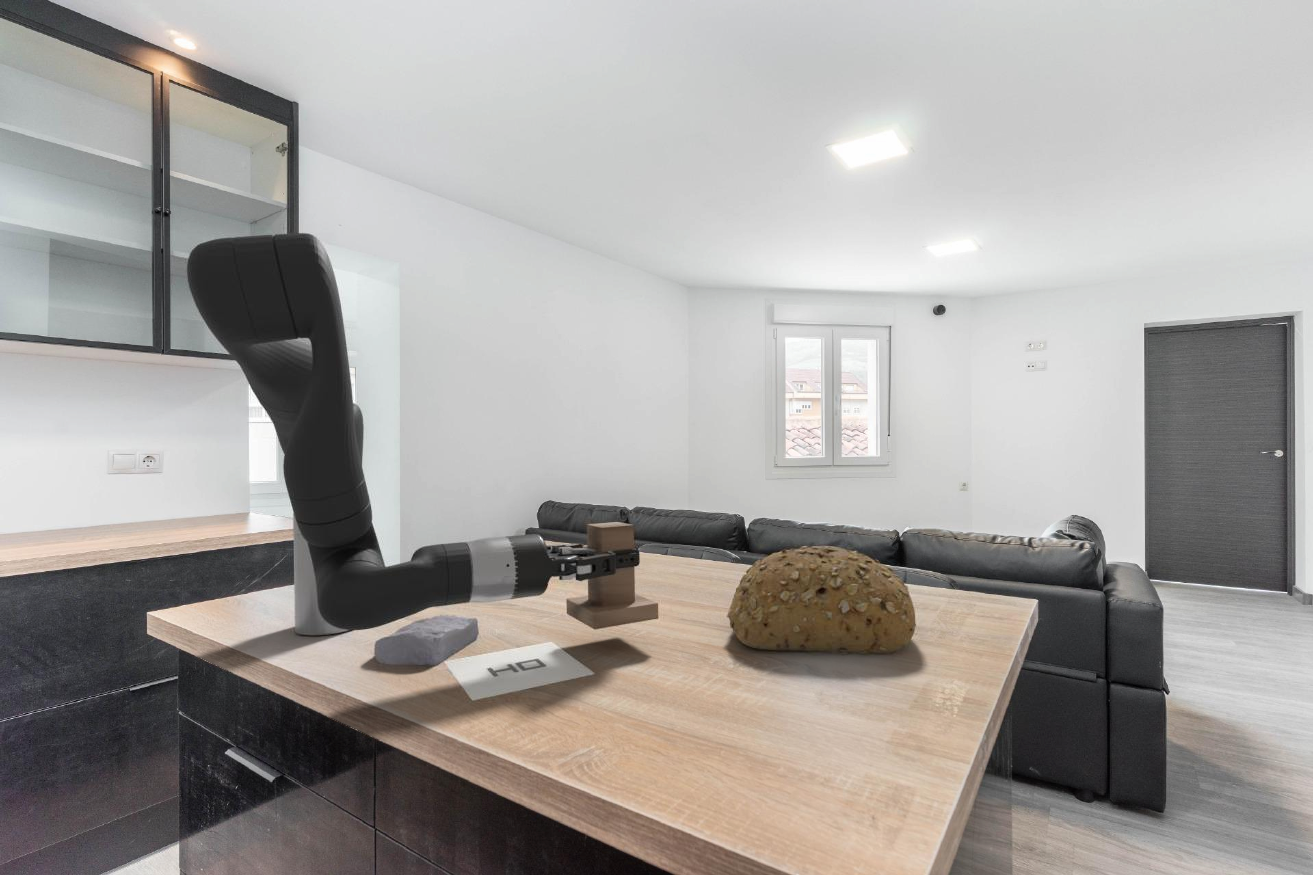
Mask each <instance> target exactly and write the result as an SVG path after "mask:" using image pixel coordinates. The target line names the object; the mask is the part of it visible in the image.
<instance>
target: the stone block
mask: <svg viewBox="0 0 1313 875" xmlns="http://www.w3.org/2000/svg"><path fill="white" fill-rule="evenodd" d="M478 621H479V620H478V619H477V617H475V616H474V617H465V616H458V615H455V614H453V615H450V614H446V615H445V614H441V615H436V616H435V615H434V616H432V617H427V618H423V619H419V620H416V621H412V622H410V623H409V624H407V625H404V626H402V627H401V628H399V629H397V630H396V631H395V632H394V633H392V634H390V635H388V636H383V637H380V638H379V639H378V640H376V641H375V642H374V643H375V644H374V649H373V650H374V651H373V652H374V656H375V660H376V662H377V663H378V664H379V663H381V664H386V665H405V666H406V665H414V666H437V665H440V664H441V663H444V661H447V660H448V659H449V658H451V657H453V656H454V655H455V654H457V653H458V652H460V651H461V650H463V649H464V648H466V647H468V646H469V645H471V644H472V643H474V642H475V641H477V639H478V636H479V633H480V632H479V624H478V623H479V622H478Z"/></svg>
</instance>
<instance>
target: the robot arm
mask: <svg viewBox="0 0 1313 875" xmlns="http://www.w3.org/2000/svg"><path fill="white" fill-rule="evenodd" d="M187 259H188V260H187V263H186V276H187V277H186V278H187V283H188V288H189V290H190V294H191V297H192V298H193V301H194V303H195V306H196V308H197V310H198V312H199V314H200V316H201V318H202V320H203V321H204V323H205V324H206V326H207V327H208V329H209V331H210V332H211V334H212V335H213V337H215V339H216V340H217V341H218V342H219V343H220V345H221V346H222V347H223V348H224V349H225V350H226V352H227V353H228V354H229V355H230V356H231V357H232V358H233V360H234V361H235V362H237V364H238V365H239V367H240V368H241V371H242V372H243V374H244V376H245V378H246V380H247V382H248V384H249V386H250V389H251V391H252V392H253V394H254V395H255V397H256V399H257V401H258V402H259V403H260V405H261V407H262V408H263V409H264V410H265V412H266V413H267V415H268V417H269V419H270V421H271V422H272V423H273V427H274V430H275V432H276V435H277V439H278V443H279V445H280V447H281V450H282V452H283V456H284V457H283V466H282V467H283V479H284V482H285V487H286V491H287V494H288V498H289V500H290V504H291V507H292V511H293V512H292V521H293V522H292V523H293V525H292V529H293V530H292V532H293V580H294V582H293V583H294V588H293V589H294V590H293V592H294V632H295V633H297V634H298V635H304V636H323V635H324V636H325V635H332V634H338V633H343V632H347V631H365V630H370V629H374V628H379V627H382V626H384V625H387V624H391V623H394V622H396V621H398V620H402V619H404V618H407V617H408V618H409V617H410V616H413V615H415V614H418V613H420V612H423V611H424V610H427V609H430V608H436V607H437V608H438V607H445V606H452V605H453V606H454V605H460V604H467V603H468V604H469V603H492V602H493V603H494V602H500V601H506V600H507V601H509V600H514V599H523V598H529V597H538V596H541V595H543V594H544V593H545V592H546V591H547V589H548V587H549V582H550V580H551V579H552V577H553V578H554V577H555V578H557V577H558V580H559V581H570V580H573V579H574V578H575V580H576V581H579V582H583V581H586V580H587V581H588V579H592V578H597V577H602V576H607V575H613V574H616V569H619V568H627V567H634V568H635V567H639V565H640V562H641V560H640V557H641V556H640V551H639V549H637V548H634V549H627V550H617V551H611V550H607V551H595V550H594V549H593V548H588V547H587V544H586V545H585V543H582V542H578V543H569V544H560V543H559V544H557V543H556V544H551V545H550V544H549V545H547V544H546V541H545V539H544V538H543V537H542V536H541V535H540V534H537V533H532V534H530V533H529V534H518V535H507V536H505V535H504V536H494V537H485V538H479V539H478V538H477V539H473V540H470V541H465V542H463V541H462V542H461V541H460V542H451V543H439V544H431V545H426V546H421V547H419V548H418V549H416V550H415V551H414V552H413V553H412V555H411V558H410V560H407V561H404V562H402V563H397V564H393V565H388V566H386V564H385V560H384V557H383V553H382V550H381V547H380V545H379V544H380V543H379V540H378V536H377V534H376V530H375V528H374V524H373V510H372V504H371V500H370V495H369V491H368V486H367V483H366V478H365V474H364V470H363V452H364V450H363V449H364V430H365V429H364V427H365V426H364V417H363V412H362V410H361V408H360V406H359V405H358V404H357V403H354V398H353V388H352V379H351V372H350V370H351V369H350V363H349V354H348V347H347V340H346V329H345V324H344V317H343V311H342V303H341V298H340V294H339V288H338V284H337V280H336V279H337V278H336V274H335V272H334V269H333V265H332V262H331V260H330V257H329V254H328V252H327V250H326V248H325V247H324V245H323V243H322V242H321V241H320V239H319V238H318V237H316V235H314V234H311V233H306V232H298V233H297V232H295V233H276V234H264V235H263V234H262V235H249V236H247V235H246V236H234V237H221V238H215V239H211V240H208V241H205V242H201V243H199V244H197V245H196V246H195V247H194V248H193V249H192V250H191V252H189V256H188V258H187ZM587 554H589V557H588V555H587ZM603 560H605V566H604V567H602V562H603Z"/></svg>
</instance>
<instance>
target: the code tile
mask: <svg viewBox="0 0 1313 875" xmlns="http://www.w3.org/2000/svg"><path fill="white" fill-rule="evenodd" d="M443 663H444V665H445V666H446V667H447V668H448V669H449V671H450V672H451V675H452V676H454V678H455V679H456V680H457V682H458V683H459V685H460V686H461V688H462V689H463V690H464V691H465V692H466V695H468V697H469V698H470V699H471V701H472V702H473V701H477V700H482V699H486V698H491V697H495V696H496V697H497V696H500V695H504V694H509V693H513V692H518V691H524V690H527V689H531V688H533V689H534V688H537V687H541V686H546V685H551V684H554V683H560V682H564V681H569V680H573V679H578V678H582V677H587V676H593V675H596V673H595V672H593V671H592V670H591V669H589V668H588V667H587V666H585V665H584V664H582V663H581V662H579V660H577V659H576V658H574V657H573V656H572V655H570V654H569V653H567V652H566V651H565V650H563V649H562V648H561V647H559V646H558V645H556V644H555V643H554V642H553V641H547V642H544V643H537V644H531V645H527V646H521V647H520V646H519V647H516V648H510V649H505V650H500V651H494V652H493V651H492V652H488V653H484V654H477V655H472V656H467V657H462V658H456V659H450V660H445V661H443Z"/></svg>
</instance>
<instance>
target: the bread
mask: <svg viewBox="0 0 1313 875" xmlns="http://www.w3.org/2000/svg"><path fill="white" fill-rule="evenodd" d="M893 571H894V569H893V568H891V567H890V566H888V565H885V564H882V563H880V561H879V560H878V559H876V558H875V559H873V558H871V557H869V556H868V555H865V553H859V551H857V550H854V551H853V550H850V549H845V548H843V547H842V548H841V547H839V546H832V545H812V546H811V545H804V546H800V547H799V548H791V549H787V548H784V549H782V550H781V551H779V552H773V553H771V554H769V556H766V557H764V558H763V559H758V560H756V561H755V563H754V564H753V565H752V566H750V567H749V568H748V569H747V570H746V571H745V573H744V574H743V575H742V577H741V579H740V581H739V584H738V585H737V587H736V588H735V592H734V594H733V597H732V600H731V604H730V607H729V608H728V612H727V615H726V618H728V619H729V627H730V628H731V629H732V632H734V634H735V636H736V637H737V639H738V640H739V641H740V642H741V643H742V644H744V645H745V646H747V647H749V648H753V649H757V650H767V651H795V652H796V651H799V652H803V651H808V652H825V653H826V652H836V653H840V654H842V653H843V654H872V655H873V654H875V655H883V654H891V653H892V654H893V653H894V652H897V651H900V650H901V649H903V648H904V647H905V646H907V645H908V644H909V643H910V641H911V640H912V638H913V636H914V634H915V628H916V627H917V624H916V612H915V606H914V604H913V603H914V602H913V599H912V597H911V595H910V592H909V587H908V586H907V585H906V584H904V582H903V581H902V580H901V579H900V576H899V575H897V574H895V573H894V572H893Z"/></svg>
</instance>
